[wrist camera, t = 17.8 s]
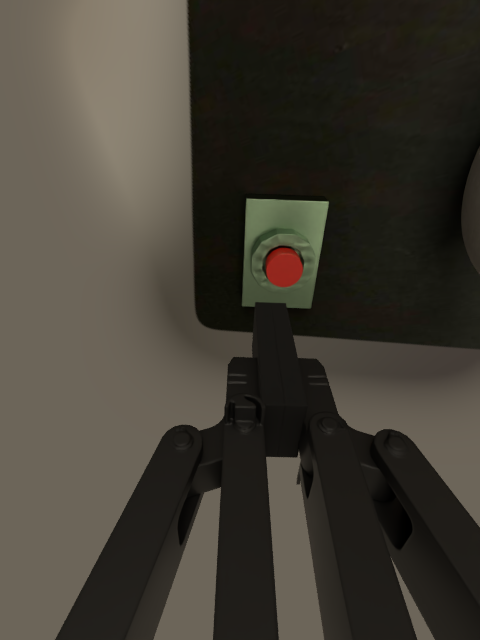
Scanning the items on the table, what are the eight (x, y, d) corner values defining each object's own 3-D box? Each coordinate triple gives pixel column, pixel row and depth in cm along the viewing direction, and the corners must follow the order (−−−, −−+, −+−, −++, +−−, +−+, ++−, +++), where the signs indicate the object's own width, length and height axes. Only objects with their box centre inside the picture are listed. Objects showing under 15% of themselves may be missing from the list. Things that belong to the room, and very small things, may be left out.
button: (266, 246, 33) (267, 253, 32) (302, 247, 33) (305, 254, 32) (264, 279, 35) (264, 287, 34) (298, 280, 35) (300, 288, 34)
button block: (246, 193, 34) (246, 203, 31) (324, 196, 34) (333, 206, 31) (242, 297, 40) (241, 314, 37) (307, 299, 41) (313, 316, 37)
